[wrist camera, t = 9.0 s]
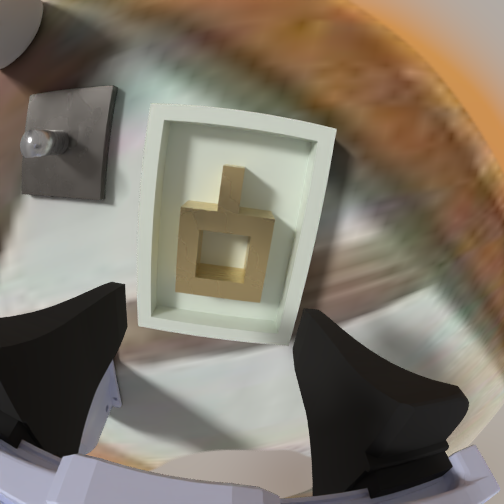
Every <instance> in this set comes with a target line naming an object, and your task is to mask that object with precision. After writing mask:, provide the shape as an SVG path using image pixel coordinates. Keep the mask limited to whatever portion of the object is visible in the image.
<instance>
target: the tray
mask: <svg viewBox="0 0 504 504" xmlns="http://www.w3.org/2000/svg"><path fill="white" fill-rule="evenodd" d="M335 135H336V129H334V128H330V127H326V126H322V125H318V124H313V123H309V122H304V121H299V120H295V119H289V118H284V117H279V116H273V115H267V114H261V113H255V112H248V111H241V110H234V109H225V108H216V107H206V106H195V105H181V104H160V103H151V105H150V111H149V117H148V123H147V130H146V137H145V145H144V153H143V162H142V172H141V182H140V195H139V210H138V231H137V308H138V326H142V327H147V328H152V329H158V330H164V331H170V332H176V333H182V334H188V335H195V336H202V337H209V338H217V339H225V340H233V341H242V342H251V343H262V344H273V345H286V346H289V343H290V339H291V335H292V332H293V328H294V324H295V321H296V317H297V313H298V309H299V306H300V302H301V298H302V294H303V290H304V286H305V282H306V278H307V274H308V269H309V265H310V261H311V257H312V252H313V248H314V244H315V239H316V235H317V230H318V225H319V221H320V216H321V211H322V206H323V201H324V196H325V191H326V186H327V181H328V175H329V170H330V164H331V159H332V153H333V147H334V141H335ZM225 164H229V165H237V166H244V167H245V172H244V178H243V185H242V192H241V199H240V206H239V207H246V208H253V209H260V210H267V211H271V212H272V214H273V216H274V218H275V223H274V229H273V235H272V240H271V246H270V252H269V257H268V263H267V268H266V274H265V279H264V285H263V290H262V296H261V301H260V303H257V302H248V301H239V300H231V299H223V298H215V297H208V296H200V295H193V294H186V293H179V292H175V283H176V263H177V247H178V233H179V221H180V209H181V206H182V205H183V204H185V203H186V202H187V201H188V200H191V201H199V202H207V203H216V204H218V201H219V193H220V185H221V178H222V171H223V165H225ZM247 243H248V236H243V235H235V234H228V233H220V232H212V231H204V230H203V238H202V248H201V259H200V263H205V264H212V265H220V266H227V267H235V268H243V269H244V262H245V256H246V249H247Z"/></svg>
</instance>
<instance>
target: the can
mask: <svg viewBox="0 0 504 504" xmlns="http://www.w3.org/2000/svg"><path fill="white" fill-rule="evenodd" d="M42 14H43V4H42V1H41V0H0V69H1V68H5V67H6V66H8V65H9V64H11V63H12V62H13V61H14V60H15V59H16V58H18V57H19V56H20V55H21V54H22V53H23V52H24V51H25V50H26V49H27V47H28V46H29V45H30V43H31V42H32V41H33V39H34V37H35V35H36V33H37V32H38V29H39V26H40V23H41V18H42Z"/></svg>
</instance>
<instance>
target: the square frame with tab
mask: <svg viewBox="0 0 504 504" xmlns="http://www.w3.org/2000/svg"><path fill="white" fill-rule="evenodd" d="M244 172H245V167H244V166H237V165H229V164H225V165H223V171H222V178H221V185H220V193H219V201H218V204H216V203H207V202H199V201H191V200H188V201H187V202H186V203H185V204H183V205H182V206H181V209H180V221H179V233H178V247H177V263H176V283H175V292H179V293H186V294H193V295H200V296H208V297H215V298H223V299H231V300H239V301H248V302H257V303H260V301H261V296H262V290H263V285H264V279H265V274H266V268H267V263H268V257H269V252H270V246H271V240H272V235H273V229H274V223H275V218H274V216H273V214H272V212H271V211H267V210H260V209H253V208H246V207H239V206H240V199H241V192H242V185H243V178H244ZM203 230H204V231H212V232H220V233H228V234H235V235H243V236H248V243H247V249H246V256H245V262H244V269H243V268H235V267H227V266H220V265H212V264H205V263H200V259H201V248H202V238H203Z"/></svg>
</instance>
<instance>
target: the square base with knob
mask: <svg viewBox="0 0 504 504" xmlns="http://www.w3.org/2000/svg"><path fill="white" fill-rule="evenodd" d="M117 89H118V87H115V86H97V87H85V88H75V89H67V90H59V91H52V92H46V93H40V94H34V95H30V100H29V106H28V112H27V119H26V127H25V134H24V135H23V137H22V139H21V143H20V149H21V153H22V155H23V161H22V194H29V195H43V196H57V197H69V198H81V199H92V200H102V199H104V198H105V185H106V171H107V159H108V149H109V141H110V132H111V125H112V118H113V112H114V106H115V100H116V94H117Z"/></svg>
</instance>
